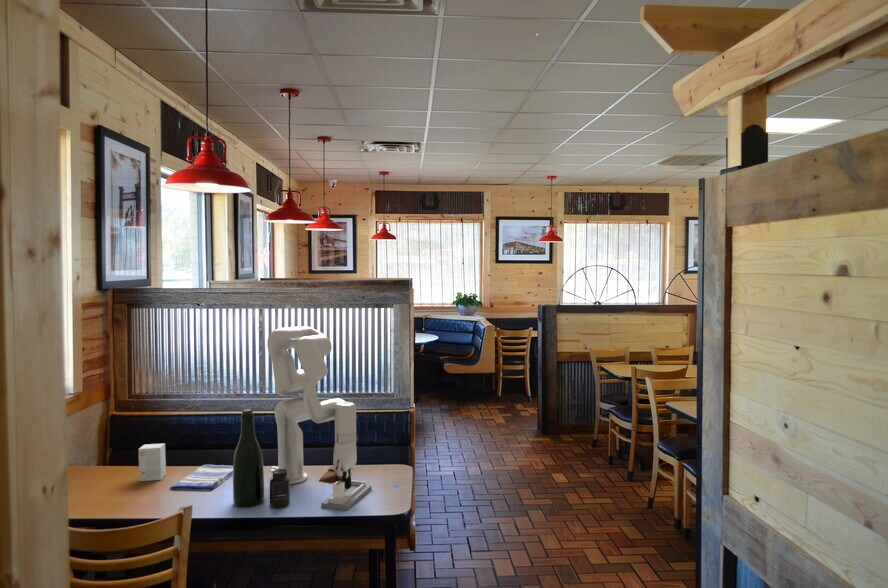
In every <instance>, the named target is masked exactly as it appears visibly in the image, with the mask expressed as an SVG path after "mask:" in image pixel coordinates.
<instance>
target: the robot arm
mask: <svg viewBox="0 0 888 588" xmlns="http://www.w3.org/2000/svg"><path fill="white" fill-rule="evenodd" d="M266 346H267V351H268V353H269V357H270V360H271V363H272V364H271V365H272V371H273V378H274V380H273V381H274V387H275V391H276V393H277V394H278V396H281V397H290V396H294V395H299V396H298V397H293V398H288V399H285V400H282V401H280V402H278V403H277V405H276V406H275V408H274V417H275V422H276V428H277V453H278V455H277V458H278V459H277V460H278V463H277V464H278V466H277V465H276V466H274V465H272V466H271V469H270V473H271V474H273V471H274V470H277V469H286V470H287V476H286V477H288V478H289V479H290V485H295V484H300V483H302V482H304V481H306V480H307V479H308V474H307V472H305V471H304V433H303V430H302V429H301V428H300V425H299V424H298V423H301V422H305V421H308V420H311V421H312V422H314V423H315V424H322V423H327V422H330V421H334V446H333V458H332V459H333V461H332V466H333V470H334V471H336V470H338V472H337V475H338V476H340V477H341V479H340V481H341V482H345V489H349V488H350V487H351V480H352V474H353V468H354V467H355V465H356V464H357V460H358V459H357V458H358V457H357V456H358V455H357V454H358V452H357V450H358V449H357V405H356V404H355V402H352V401H346V400H345V399H342V398H339V397H334V398H330V399H325V400H321V401H319V398H318V395H317V394H318V393H317V383H318V382H319V381H321V380H323V379H324V378H325V377H326V376H327V375H328V374H329V369H328V367H327V364H326V361H325V359H324V357H325V356H328V355H329V354H331V352H332V346H333V345H332V343H331V340H330V338H329V337H328V336H327V335H326V334H324V333H323V332H321V331H318V329H317V330H316V329H315V328H313V327H311V326H307V325H301V326H289V327H288V326H287V327H286V326H285V327H279V328H277V329H274V330H272V332H271V333H270V334H269V335H268V337H267V345H266ZM290 349H294V350H295V354H296V356H297V358H298V361H299V364H300V366H301V369H296V364H295V363H296V362H295V359H294V356H293V355H292V354H291V352H290V351H289V350H290Z"/></svg>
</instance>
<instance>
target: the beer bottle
mask: <svg viewBox="0 0 888 588" xmlns="http://www.w3.org/2000/svg"><path fill="white" fill-rule="evenodd" d="M241 412H242V413H241V415H240V419H241V420H240V421H241V423H240V436H239V440H238V443H237V445H236V448H235V451H234V454H233V465H232V466H233V475H232V503H233V505H234V506H236V507H240V508H250V507H254V506H257V505H259V504H261V503H262V502H263V501H265V477H264V476H265V473H264V458H263V452H262V451H263V450H262V449H261V447H260V444H259V441H258V440H257V436H256V432H255V423H254V422H255V421H254V420H255V413H254V412H253V409H250V408H248V409H247V408H246V409H243V410H242V411H241Z"/></svg>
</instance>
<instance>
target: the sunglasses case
mask: <svg viewBox="0 0 888 588" xmlns="http://www.w3.org/2000/svg"><path fill="white" fill-rule="evenodd" d="M337 472H338V470H336V471H334V470H333V465H332V466H330V467H329V468H328V469H327V471H326V472H325V473H323V474H322V476H321V477H320V478H319V480H318V483H333V482H336V481H341V477H340V476H338V475H337Z"/></svg>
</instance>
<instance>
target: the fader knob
mask: <svg viewBox="0 0 888 588" xmlns="http://www.w3.org/2000/svg"><path fill="white" fill-rule="evenodd" d="M332 494H333V498H337V499H345V482H341V480H339V481H336V482H335V483H332Z"/></svg>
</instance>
